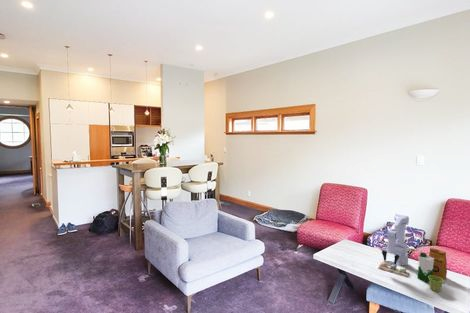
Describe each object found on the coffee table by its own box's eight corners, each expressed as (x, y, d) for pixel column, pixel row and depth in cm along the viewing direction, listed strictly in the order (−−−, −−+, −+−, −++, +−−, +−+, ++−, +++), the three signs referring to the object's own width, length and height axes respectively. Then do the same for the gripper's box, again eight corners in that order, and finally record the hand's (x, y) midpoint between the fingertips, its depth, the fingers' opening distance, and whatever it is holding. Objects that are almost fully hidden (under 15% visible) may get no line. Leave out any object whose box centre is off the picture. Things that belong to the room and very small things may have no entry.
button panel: (408, 273, 223) (408, 271, 223) (407, 277, 217) (407, 275, 217) (380, 265, 237) (380, 263, 237) (378, 268, 231) (378, 266, 231)
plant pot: (424, 286, 203) (424, 275, 203) (435, 286, 204) (436, 275, 204) (434, 293, 194) (435, 282, 194) (446, 293, 195) (447, 281, 194)
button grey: (396, 269, 227) (396, 265, 227) (395, 270, 224) (395, 267, 224) (391, 267, 230) (391, 264, 229) (390, 269, 227) (390, 265, 226)
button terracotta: (387, 266, 232) (387, 262, 231) (386, 268, 229) (386, 264, 228) (381, 264, 234) (382, 261, 234) (380, 266, 231) (381, 263, 231)
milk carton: (421, 275, 220) (423, 251, 219) (434, 280, 212) (436, 255, 211) (415, 277, 216) (417, 253, 215) (427, 283, 208) (429, 258, 207)
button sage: (406, 271, 223) (406, 268, 222) (405, 273, 220) (405, 270, 219) (400, 270, 225) (400, 266, 225) (399, 271, 222) (400, 268, 222)
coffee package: (443, 281, 211) (445, 253, 210) (425, 274, 222) (427, 248, 220) (448, 278, 217) (450, 251, 215) (430, 271, 227) (432, 245, 226)
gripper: (380, 243, 224) (378, 260, 223) (399, 249, 213) (397, 266, 212) (383, 242, 228) (382, 258, 228) (402, 247, 217) (401, 264, 217)
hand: (389, 262), depth 220 cm, fingers open, 7 cm apart
